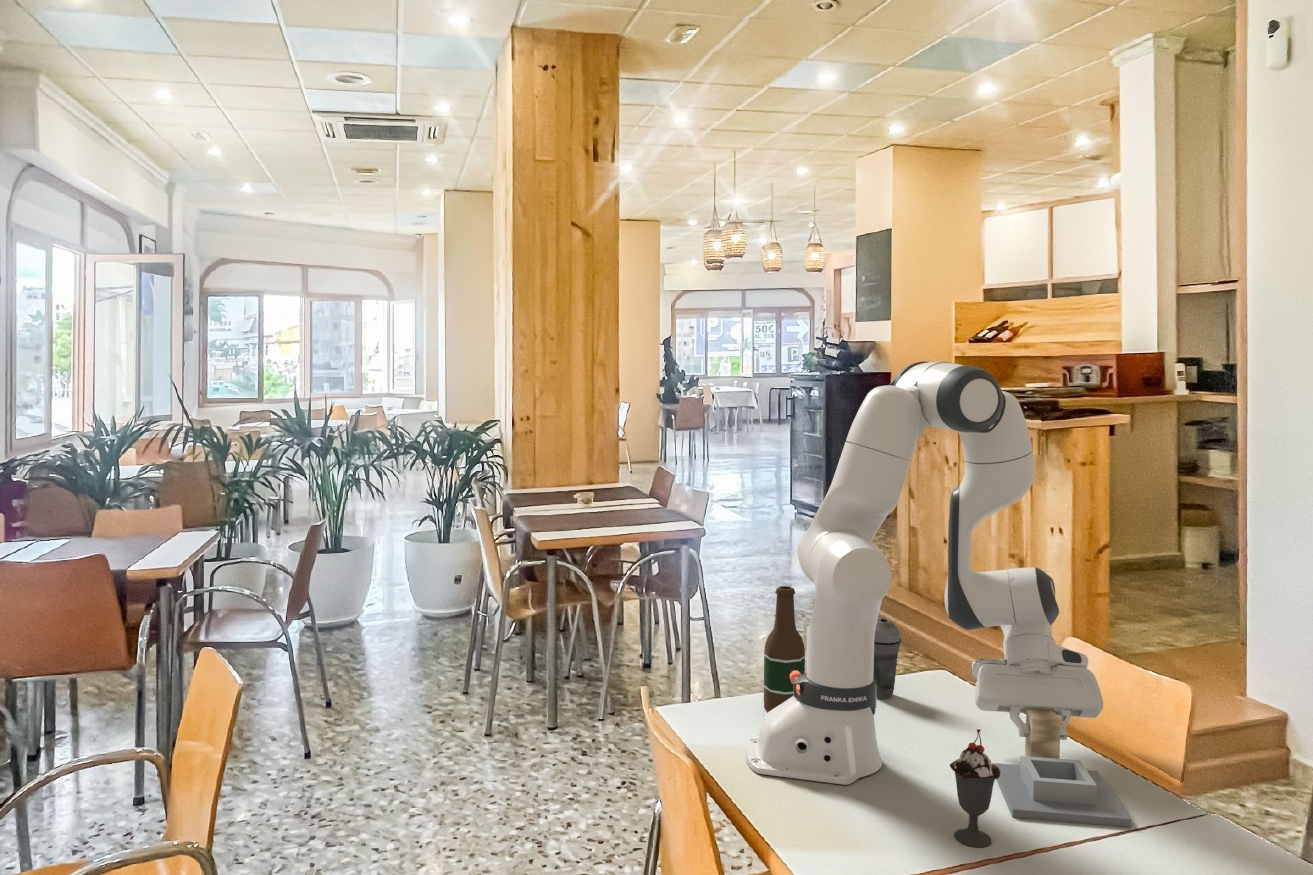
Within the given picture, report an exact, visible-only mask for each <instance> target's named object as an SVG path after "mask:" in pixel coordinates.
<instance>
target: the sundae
mask: <svg viewBox="0 0 1313 875" xmlns="http://www.w3.org/2000/svg"><path fill="white" fill-rule="evenodd" d="M976 732H977V736H976V738H975V739H974V742H969V743H968V745H967V748H965V749H964V750H962V751H961V753H960V755H959V758H958V759H955V760H953V761H952V762H951V763H950V764H949V767H950V768H951V770H952V771H953V772H954V776H955V784H956V792H957V794H956V795H957V800H958V803H959V806H960V808H962V810H963V811H964V812H966V814H968V817H969V818H968V825H967V828H960V829H957V830H956V831H955V832H954V833H953V834H954V836H953V837H954V838H955V839H956V841H958V842H959V843H961V844H962V845H964V846H967V847H971V848H986V847H989V846H990V845H991V844H993V843H992V842H993V841H992V838H991V836H990V835H988V834H987V833H986V832H984V831H982V830H979V823H978V822H979V817H980V816H981V815H983V814H984V813H986V812H987V811H988V810H989V808H990V805H991V801H992V795H993V788H994V784H995V780H996V779H998V778H999V777H1000V769H999V768H998V767H997V766H996V765H993V764H992V760H991V759H990V757H989V756H988V755H987V754H986V753H985V747H984V746H982V738H981V734H980V732H981V729H978V728H977V729H976ZM978 738H979V744H978V745H977V744H976V742H977V740H978Z"/></svg>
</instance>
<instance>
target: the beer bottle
mask: <svg viewBox="0 0 1313 875" xmlns="http://www.w3.org/2000/svg"><path fill="white" fill-rule="evenodd" d="M774 593H775V595H776V604H775V617H774V626H773V629H772V630H771V632H770V633H769V635H768V636H767V638H766V640H765V644H764V651H763V708H764V710H765V709H766V710H767V711H766V710H765V711H766V712H767V713H768V712H769V711H771V710H772V709H774V708H775V707H777V706H779V705H780V704H782V703H783V702H785V701H786V700H788V699H789V698H791V697H792V696H794V691H793V686H794V684H792V683H791V681H790V673H792V671H795V670H796V671H799V672H800V673H801V675H803V674H804V673H806V650H805V648H806V647H805V643H804V640H803V638H802V636H801V635H800V633H799V631H798V630H797V626H796V618H795V615H796V614H795V612H796V611H795V596H794V595H795V594H796V590H795V588H793V587H792V586H789V585H781V586H778V587H776V589H775V592H774Z"/></svg>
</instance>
